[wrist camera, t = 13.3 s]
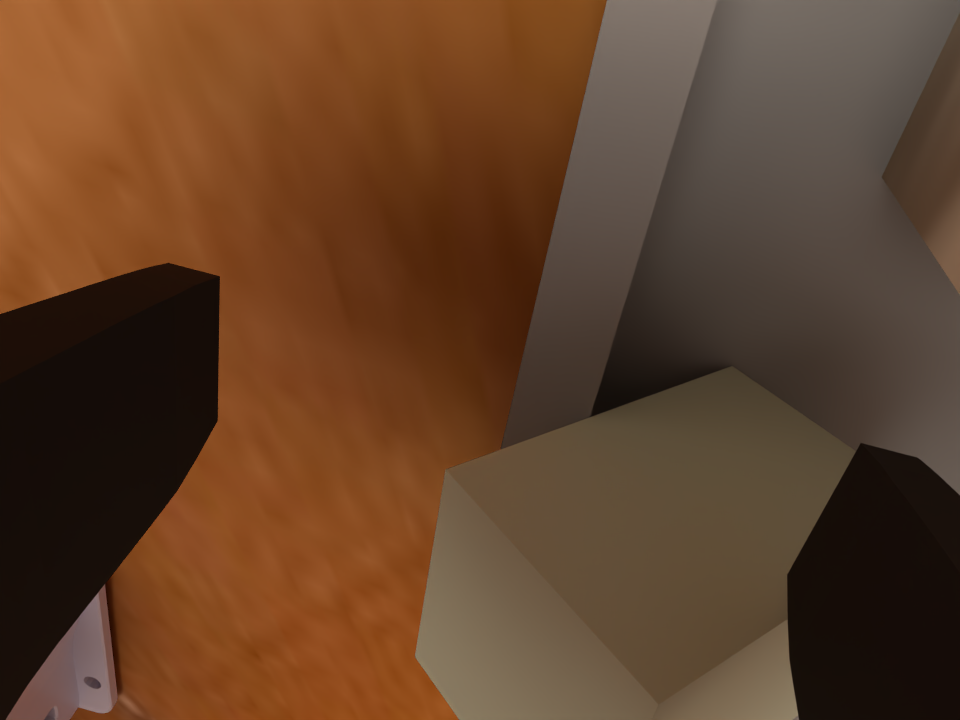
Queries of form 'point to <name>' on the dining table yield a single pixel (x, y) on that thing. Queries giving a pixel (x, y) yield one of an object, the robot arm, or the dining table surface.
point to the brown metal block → (933, 161)
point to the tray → (750, 223)
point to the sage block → (629, 561)
